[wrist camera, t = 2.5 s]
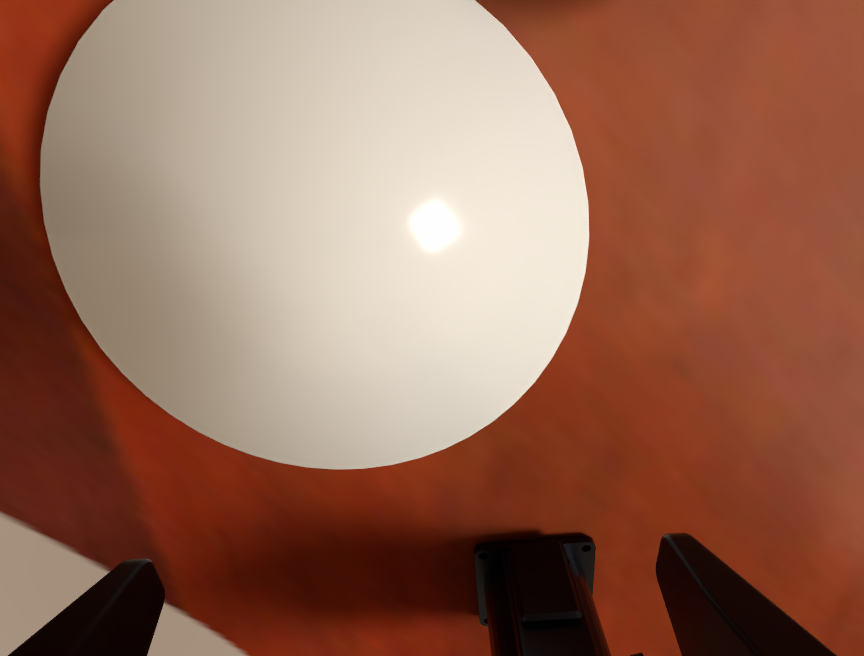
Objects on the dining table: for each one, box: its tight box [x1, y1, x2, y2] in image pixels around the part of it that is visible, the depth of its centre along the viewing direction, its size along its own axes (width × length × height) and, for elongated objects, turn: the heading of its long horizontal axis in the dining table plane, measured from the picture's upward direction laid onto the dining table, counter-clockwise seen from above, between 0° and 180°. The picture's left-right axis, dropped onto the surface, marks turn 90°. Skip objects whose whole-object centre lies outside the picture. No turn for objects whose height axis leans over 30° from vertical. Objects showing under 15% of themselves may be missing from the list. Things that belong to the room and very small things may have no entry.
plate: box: [40, 0, 589, 469], centre depth 19 cm, size 20×20×1 cm
